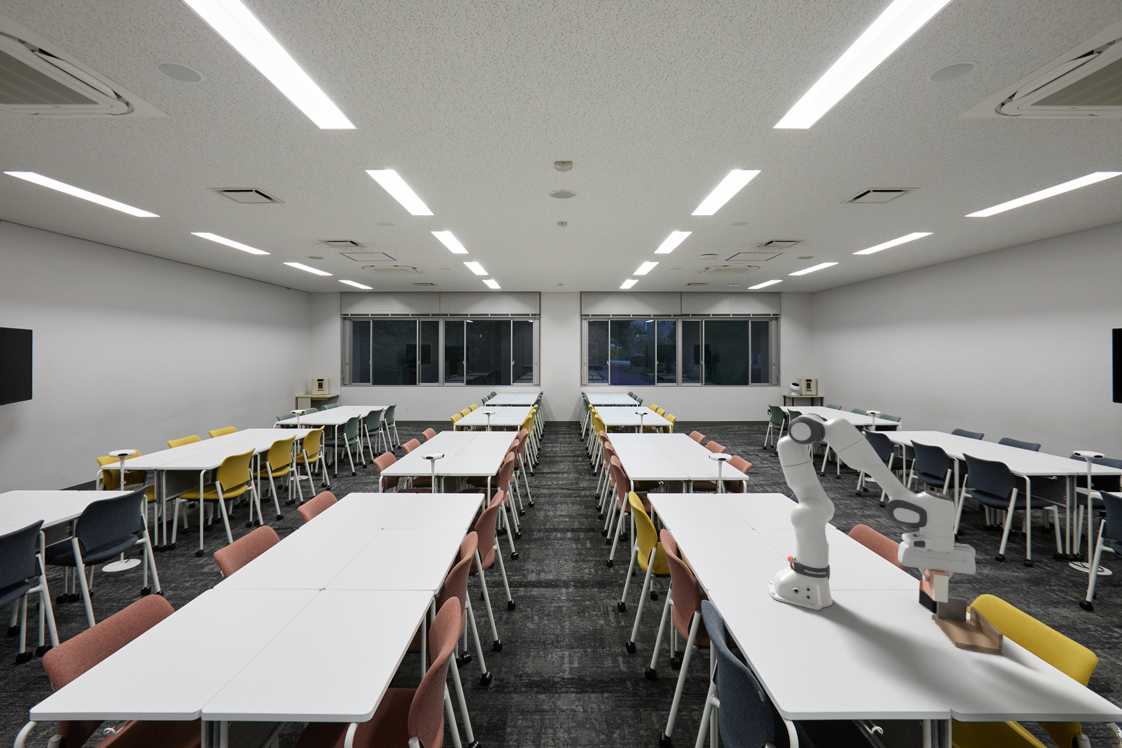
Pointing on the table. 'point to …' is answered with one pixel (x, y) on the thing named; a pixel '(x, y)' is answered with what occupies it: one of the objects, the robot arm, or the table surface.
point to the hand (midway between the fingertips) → (935, 581)
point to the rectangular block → (937, 585)
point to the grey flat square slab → (952, 609)
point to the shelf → (972, 633)
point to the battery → (926, 599)
